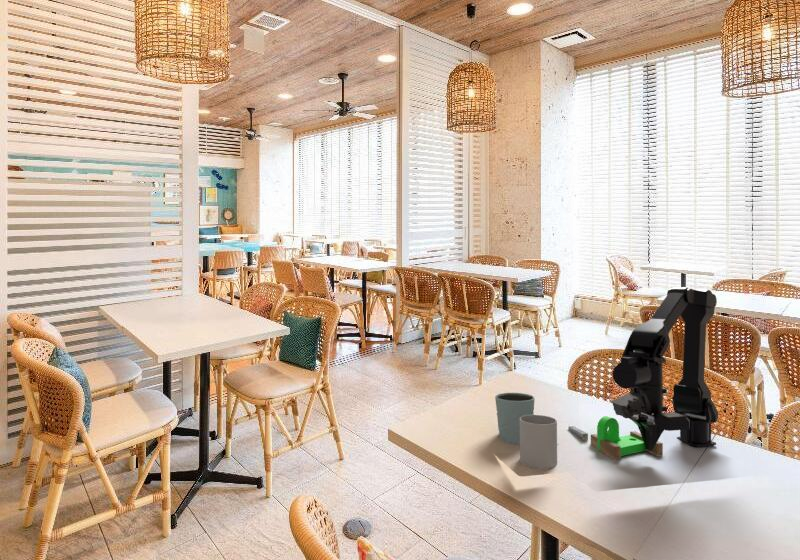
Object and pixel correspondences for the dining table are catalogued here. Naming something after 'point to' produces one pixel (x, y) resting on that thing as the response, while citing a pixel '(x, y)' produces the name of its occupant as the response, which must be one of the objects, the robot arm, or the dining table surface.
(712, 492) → the dining table surface
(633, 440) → the mechanical part
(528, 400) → the teal tapered tumbler
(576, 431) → the u-shaped bracket
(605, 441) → the beam rails
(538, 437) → the cup
